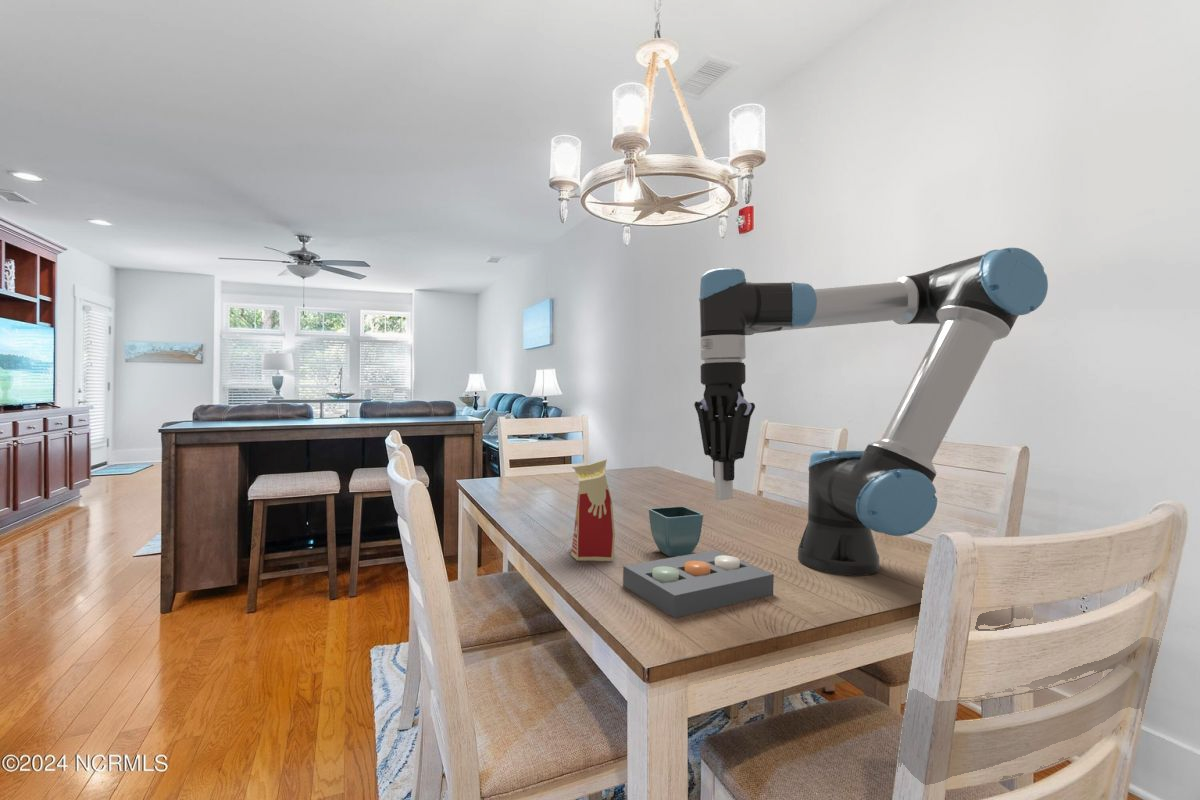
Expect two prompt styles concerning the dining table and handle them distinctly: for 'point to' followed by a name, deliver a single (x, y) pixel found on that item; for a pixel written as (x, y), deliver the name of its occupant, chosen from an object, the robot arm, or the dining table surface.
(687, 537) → the flower pot
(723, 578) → the button panel
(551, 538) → the dining table surface
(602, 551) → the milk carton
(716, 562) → the cream button
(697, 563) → the orange button
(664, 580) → the sage button
